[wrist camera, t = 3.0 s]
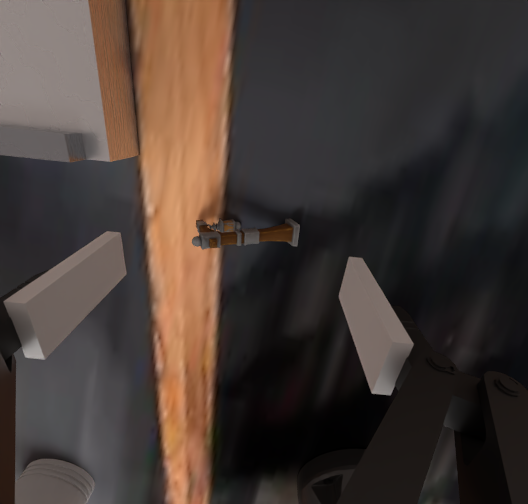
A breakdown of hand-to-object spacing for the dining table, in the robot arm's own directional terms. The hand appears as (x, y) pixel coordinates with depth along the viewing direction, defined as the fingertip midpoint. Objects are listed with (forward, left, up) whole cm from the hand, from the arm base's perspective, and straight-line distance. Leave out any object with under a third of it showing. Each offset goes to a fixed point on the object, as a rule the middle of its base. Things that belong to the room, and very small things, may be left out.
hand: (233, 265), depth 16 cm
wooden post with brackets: (0, 0, -8) cm, 8 cm away
